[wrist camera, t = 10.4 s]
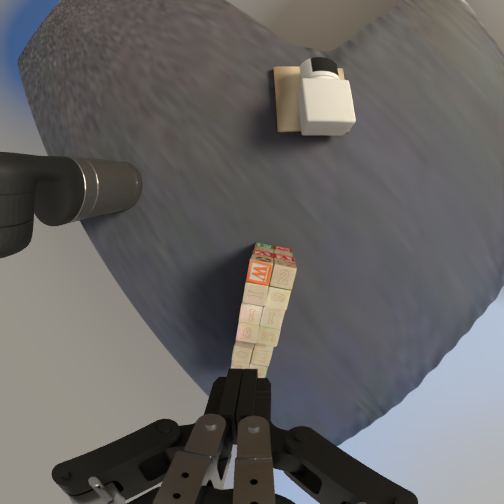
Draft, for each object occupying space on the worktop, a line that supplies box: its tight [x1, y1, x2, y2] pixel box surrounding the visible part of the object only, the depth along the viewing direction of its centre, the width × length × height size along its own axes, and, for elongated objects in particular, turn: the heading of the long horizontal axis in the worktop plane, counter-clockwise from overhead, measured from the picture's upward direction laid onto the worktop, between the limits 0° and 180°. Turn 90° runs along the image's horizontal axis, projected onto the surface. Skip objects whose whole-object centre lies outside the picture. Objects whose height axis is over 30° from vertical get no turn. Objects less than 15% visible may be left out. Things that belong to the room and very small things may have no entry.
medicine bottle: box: [298, 57, 356, 136], centre depth 37 cm, size 7×7×12 cm
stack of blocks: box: [231, 242, 297, 378], centre depth 44 cm, size 21×6×12 cm, turn 169°
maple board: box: [274, 67, 350, 133], centre depth 41 cm, size 12×12×1 cm
